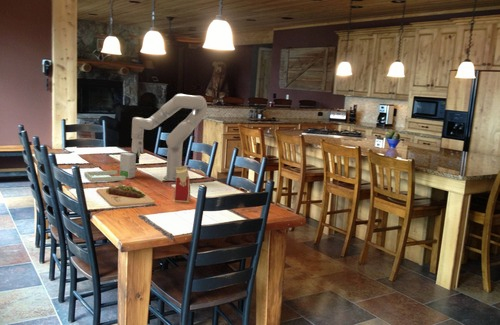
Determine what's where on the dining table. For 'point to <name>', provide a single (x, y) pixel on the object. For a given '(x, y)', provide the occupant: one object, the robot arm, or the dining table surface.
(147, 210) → the dining table surface
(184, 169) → the milk carton
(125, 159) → the skincare box
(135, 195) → the cutting board
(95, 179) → the open-sided frame
